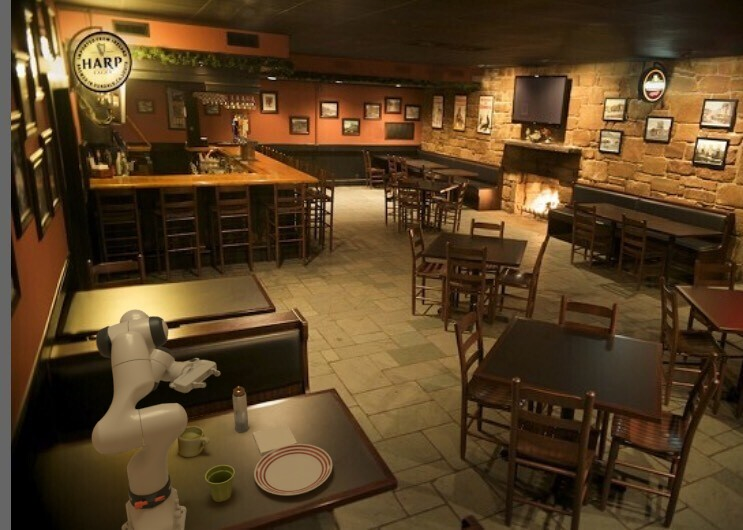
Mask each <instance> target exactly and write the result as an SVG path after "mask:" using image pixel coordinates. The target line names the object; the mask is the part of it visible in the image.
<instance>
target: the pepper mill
mask: <svg viewBox="0 0 743 530" xmlns="http://www.w3.org/2000/svg"><path fill="white" fill-rule="evenodd" d="M245 390H246V389H245V387H243V386H240V385H238V386H236V387H235V388H233V389H232V391H233V392H232V405H233V415H234V416H233V418H234V428H235V429H234V430H235V432H236V433H238V434H242V433H243V434H244V433H247V432H248V431H249V419H248V418H249V417H248V404H247V403H248V402H247V392H246V391H245Z"/></svg>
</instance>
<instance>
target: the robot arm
mask: <svg viewBox="0 0 743 530" xmlns="http://www.w3.org/2000/svg"><path fill="white" fill-rule="evenodd" d="M168 337H169V327H168V325H167V323H166V321H165V320H164V318H162V317H160V316H158V315H157V316H153V315H152V316H150V315H148V313H146V312H144V311H143V310H140V309H130V310H128V311H126V312H125V313H123V315H122V316H121V317H120V320H119V323H116V324H113V325H107V326H105V327H102V328H101V329H99V330H98V331H97V333H96V335H95V338H96V339H95V346H96V349H97V351H98V352H99V354H100V356H102V357H103V358H106V359H110V360H111V371H112V378H113V397H112V401H111V404H110V405H109V408H108V410H107V412H106V413H105V414H104V415H103V417H102V418H100V420H99V421H97V423H96V424H95V426H94V427H93V430H92V432H91V442H92V446H93V447H94V449H95V450H96V451H97V452H98V453H99V454H100V455H103V456H104V455H116V454H117V455H118V454H123V453H126V452H130V451H133V450H137V449H139V450H138V451H137V452H136V453H134V455H132V457H131V458H130V459H129V461H128V463H127V466H126V472H127V480H128V492H127V493H128V498H129V500H128V501H127V502H126V503H125V509H126V516H127V517H126V518H127V521H126V522H124V524H122V525H121V530H185V529H186V528H185V526H186V517H187V511H188V510H187V508H186V506H184V505H180V499H179V496H178V490H177V489H176V488H174V487H173V486H172V479H171V477H170V474H169V469H168V468H169V467H168V457H169V452H170V449H171V448H172V446H173V444H175V441H177V440H178V437H179V436H180V435H181V434H183V432H184V431H185V429H186V427H188V415H187V412H186V410H185V408H184V407H183V406H182V405H181V404H179V403H177V402H175V403H174V402H173V403H171V402H170V403H160V404H156V405H151V406H148V407H144V408H143V407H142V408H140V409H139V408H138V409H136V406H137V404H138V403H139V401H141V400H142V399H144V398H145V397H146V396H147V395H149V394H150V393H151V392H153V391H155V390H157V388H158V386H159V385H160V381H163V382H169V385H168V387H169V388H170V389H174V390H175V391H177V392H180V393H183V394H186V393H189V392H191V390H193V389H199V388H201V389H204V388H206V387H207V383H206V382H205V380H206V379H207V378H209V377H210V376H211V375H214V376H215V377H219V376H221V371H219V370H217V369H218V367H217V363H216V362H215V361H211V360H208V359H200V358H198V357H195V358H192V359H189V360H186V361H175V360H176V358H175V356H174V354H173V352H172V351H171V349H170V348H167V347H164V346H163V345H165V344H166V343H167V341H168V339H169V338H168Z"/></svg>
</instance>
